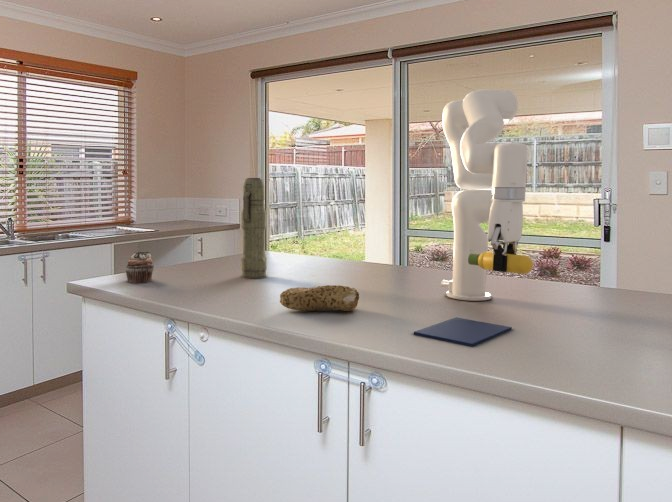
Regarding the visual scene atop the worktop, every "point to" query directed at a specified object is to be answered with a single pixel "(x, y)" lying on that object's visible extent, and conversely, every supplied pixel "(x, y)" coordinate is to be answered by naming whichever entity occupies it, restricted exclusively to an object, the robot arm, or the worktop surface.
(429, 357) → the worktop surface
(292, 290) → the sponge
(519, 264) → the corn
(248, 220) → the thermos
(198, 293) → the worktop surface
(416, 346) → the worktop surface
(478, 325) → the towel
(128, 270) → the cupcake
